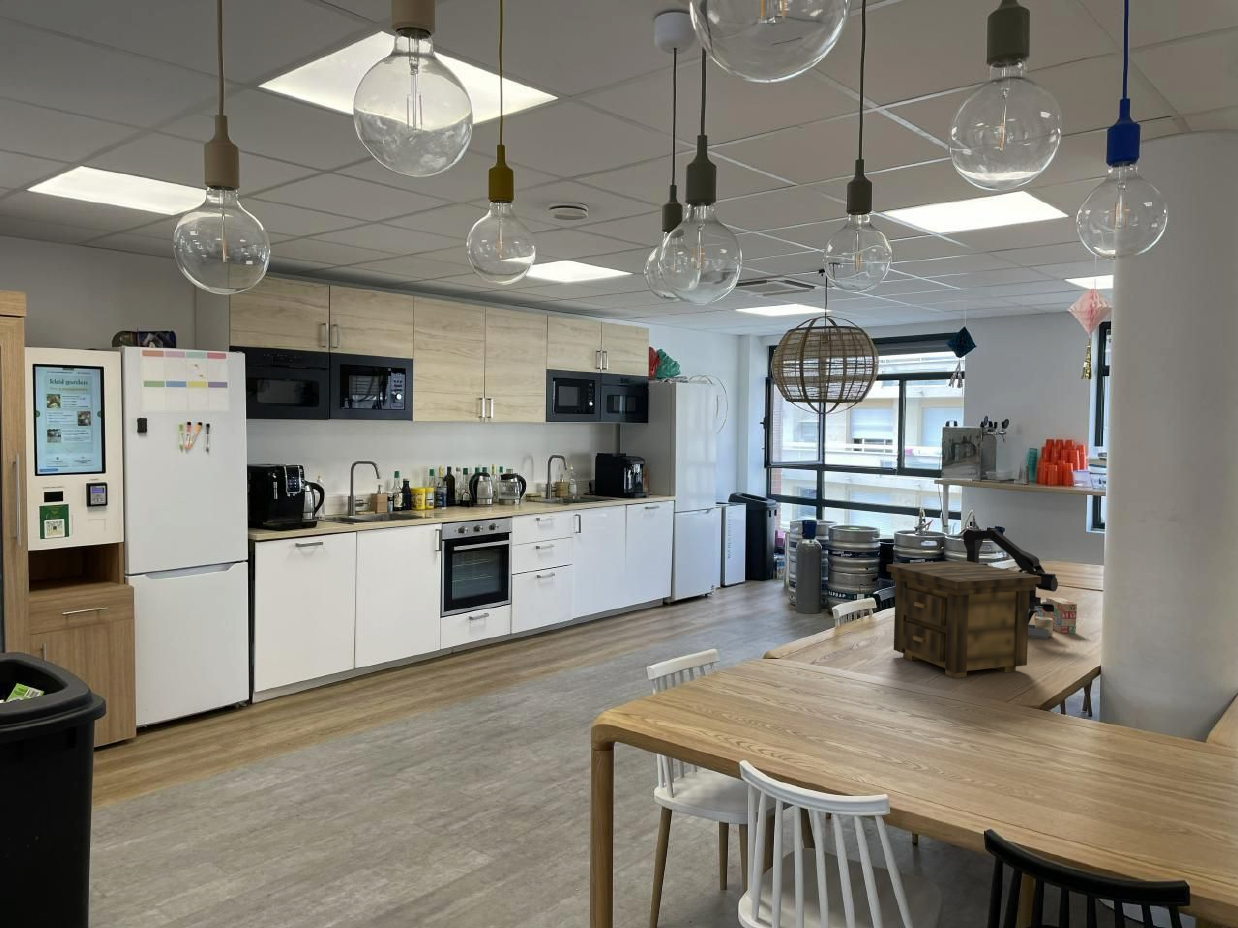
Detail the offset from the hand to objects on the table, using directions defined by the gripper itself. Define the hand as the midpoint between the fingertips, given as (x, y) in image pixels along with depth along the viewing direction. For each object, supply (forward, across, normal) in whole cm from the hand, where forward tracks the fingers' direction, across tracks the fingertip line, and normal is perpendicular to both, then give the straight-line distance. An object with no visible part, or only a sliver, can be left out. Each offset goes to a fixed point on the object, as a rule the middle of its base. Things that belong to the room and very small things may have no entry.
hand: (1026, 626), depth 339 cm
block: (+2, +6, 0) cm, 7 cm away
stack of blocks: (+4, +11, +20) cm, 24 cm away
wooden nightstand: (+4, -24, -59) cm, 64 cm away
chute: (+3, -2, 0) cm, 4 cm away
